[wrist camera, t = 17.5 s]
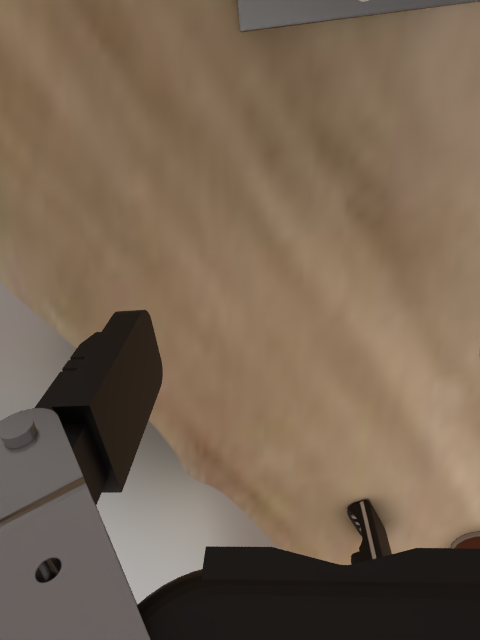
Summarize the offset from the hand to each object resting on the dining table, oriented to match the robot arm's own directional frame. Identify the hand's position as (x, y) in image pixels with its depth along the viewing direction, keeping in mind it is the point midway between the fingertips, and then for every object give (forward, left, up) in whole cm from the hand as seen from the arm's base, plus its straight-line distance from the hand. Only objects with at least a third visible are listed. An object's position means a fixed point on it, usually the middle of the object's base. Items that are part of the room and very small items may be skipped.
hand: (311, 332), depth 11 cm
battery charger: (-8, +45, -27) cm, 53 cm away
